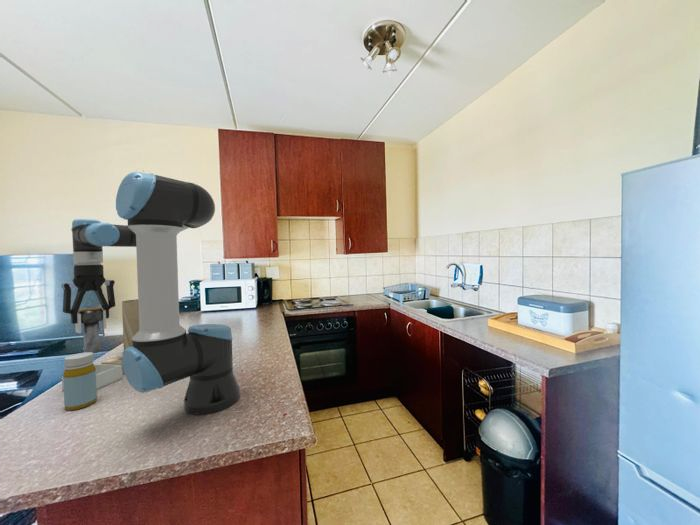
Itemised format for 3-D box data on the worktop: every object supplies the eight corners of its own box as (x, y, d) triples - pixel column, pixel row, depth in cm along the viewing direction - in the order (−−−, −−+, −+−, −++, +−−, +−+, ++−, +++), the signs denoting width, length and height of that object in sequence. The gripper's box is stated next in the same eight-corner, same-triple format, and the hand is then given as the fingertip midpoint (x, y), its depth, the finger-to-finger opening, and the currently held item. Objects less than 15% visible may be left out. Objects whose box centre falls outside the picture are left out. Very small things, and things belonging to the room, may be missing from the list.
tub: (89, 393, 91) (89, 378, 91) (62, 391, 93) (61, 376, 93) (122, 378, 102) (121, 365, 102) (97, 377, 104) (96, 363, 104)
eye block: (127, 374, 105) (127, 363, 105) (101, 372, 107) (101, 362, 107) (155, 362, 117) (154, 353, 117) (130, 361, 119) (130, 352, 119)
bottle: (94, 396, 89) (92, 350, 88) (98, 403, 84) (96, 354, 84) (63, 406, 83) (61, 356, 83) (66, 414, 79) (63, 361, 78)
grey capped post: (84, 356, 93) (82, 310, 93) (77, 353, 96) (75, 309, 96) (106, 351, 98) (104, 307, 98) (99, 348, 101) (97, 306, 101)
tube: (133, 359, 122) (131, 302, 121) (118, 357, 125) (116, 301, 124) (156, 351, 131) (154, 299, 131) (141, 349, 134) (139, 298, 134)
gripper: (53, 265, 86) (56, 338, 87) (126, 263, 103) (128, 325, 103) (45, 265, 90) (48, 335, 91) (117, 263, 107) (119, 323, 107)
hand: (91, 330), depth 97 cm, fingers closed on grey capped post, 6 cm apart
